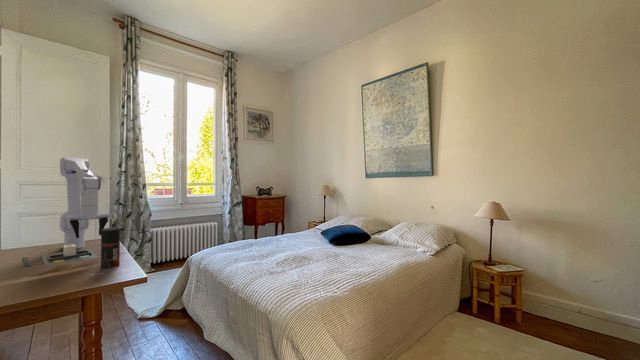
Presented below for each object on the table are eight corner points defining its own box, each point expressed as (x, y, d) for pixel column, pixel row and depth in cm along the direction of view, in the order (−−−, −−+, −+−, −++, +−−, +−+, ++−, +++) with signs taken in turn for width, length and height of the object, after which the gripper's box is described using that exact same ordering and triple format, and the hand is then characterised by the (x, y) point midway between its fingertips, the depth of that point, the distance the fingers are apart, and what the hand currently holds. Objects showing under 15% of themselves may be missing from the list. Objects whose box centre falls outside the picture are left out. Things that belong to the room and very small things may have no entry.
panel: (40, 258, 117) (40, 253, 117) (88, 250, 129) (88, 246, 129) (46, 269, 104) (46, 263, 104) (99, 259, 117) (99, 255, 116)
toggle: (63, 256, 117) (63, 245, 117) (74, 254, 119) (74, 243, 119) (64, 258, 114) (65, 246, 114) (76, 256, 117) (76, 245, 117)
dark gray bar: (22, 260, 113) (22, 257, 113) (27, 260, 114) (27, 256, 114) (25, 270, 103) (25, 266, 103) (30, 269, 104) (30, 265, 104)
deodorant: (111, 269, 106) (112, 230, 106) (96, 268, 106) (97, 230, 106) (123, 264, 112) (123, 227, 112) (108, 263, 112) (109, 227, 112)
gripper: (68, 207, 109) (67, 240, 109) (112, 204, 120) (112, 235, 120) (65, 205, 113) (65, 237, 114) (108, 203, 125) (108, 232, 125)
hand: (89, 236), depth 117 cm, fingers open, 7 cm apart
